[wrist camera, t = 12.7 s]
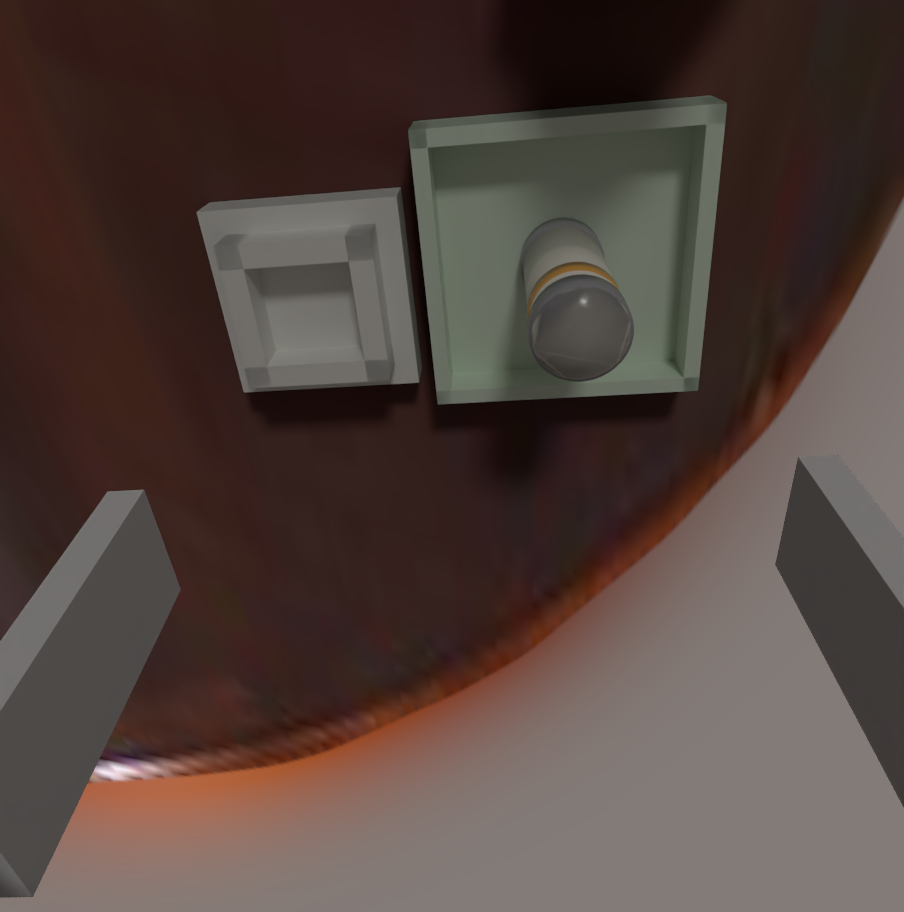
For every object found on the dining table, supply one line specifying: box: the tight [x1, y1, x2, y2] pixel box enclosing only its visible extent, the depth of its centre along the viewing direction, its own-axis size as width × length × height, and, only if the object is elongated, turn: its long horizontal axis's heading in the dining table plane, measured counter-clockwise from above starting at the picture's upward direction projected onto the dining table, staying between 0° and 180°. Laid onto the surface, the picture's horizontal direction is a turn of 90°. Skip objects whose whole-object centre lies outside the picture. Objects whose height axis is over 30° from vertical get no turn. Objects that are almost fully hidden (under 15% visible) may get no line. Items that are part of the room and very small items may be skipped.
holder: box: [197, 187, 422, 392], centre depth 38 cm, size 10×10×4 cm
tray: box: [408, 96, 727, 404], centre depth 37 cm, size 14×14×3 cm
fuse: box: [520, 218, 634, 382], centre depth 34 cm, size 4×4×10 cm
